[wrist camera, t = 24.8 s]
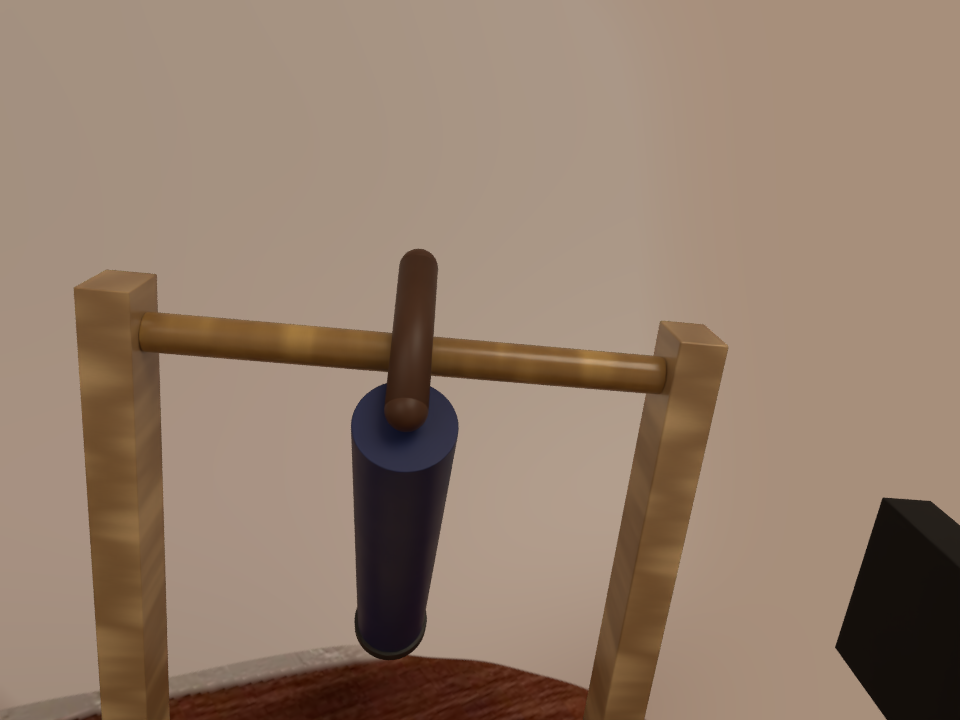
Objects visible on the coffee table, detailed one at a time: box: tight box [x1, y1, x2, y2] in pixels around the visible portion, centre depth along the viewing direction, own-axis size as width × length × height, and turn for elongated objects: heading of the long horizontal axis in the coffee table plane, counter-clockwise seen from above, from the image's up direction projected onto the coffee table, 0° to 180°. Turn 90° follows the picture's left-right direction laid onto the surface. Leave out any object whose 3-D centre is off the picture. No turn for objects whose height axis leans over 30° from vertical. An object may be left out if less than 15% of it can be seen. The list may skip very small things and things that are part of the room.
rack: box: [74, 270, 728, 720], centre depth 36 cm, size 25×8×31 cm, turn 93°
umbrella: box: [351, 249, 458, 660], centre depth 39 cm, size 10×4×26 cm
